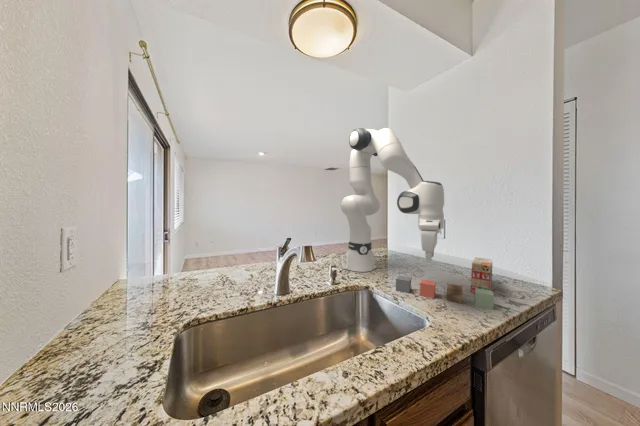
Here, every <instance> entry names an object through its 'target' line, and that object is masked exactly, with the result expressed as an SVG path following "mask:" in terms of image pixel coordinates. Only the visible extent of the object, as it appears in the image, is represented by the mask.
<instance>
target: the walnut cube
mask: <svg viewBox="0 0 640 426" xmlns="http://www.w3.org/2000/svg"><path fill="white" fill-rule="evenodd" d="M463 289H464V288H463V285H459V284H451V283H446V298H445V301H446V302H451V303H456V304H461V305H463V295H464V294H463V293H464V291H463Z"/></svg>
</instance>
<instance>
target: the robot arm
mask: <svg viewBox="0 0 640 426" xmlns="http://www.w3.org/2000/svg"><path fill="white" fill-rule="evenodd" d="M348 142H349V143H348V144H349V147H350V148H351V149H352V150H351V151H350V156H349V165H348V168H349V169H348V170H349V185H350V186H351V187H352V189H353V190H354V192H355V194H351V195H346V196H345V197H343V198H342V200H341V203H340V209H341V211H342V213H343V214H344V215H345V216H346V219H347V221H348V225H349V241H348V249H347V250H346V251H345V253H344V254H342V259H341V262H340V265H341V269H343V270H347V271H348V270H349V271H352V272H356V273H357V272H360V273H362V272H363V273H367V272H371V271H372V272H373V270H374V269H377V268H378V267H377V265H375V254H374V251H372V247H373V244H372V227H371V225H370V224H369V222H368V221H367V216H372V215H374V214H376V213H378V212H379V211H380V207H381V203H380V200H379V199H378V198H377V197H376V194H375V191H374V188H373V184H372V174H371V172H372V170H371V158H372V156H374V157H378V160H379V162H380V164H381V165H382V167H383V168H384V169H386V170H387V171H390V172H392V173H395V174H396V175H398V176H401V177H402V178H403V179H404V180H405V181H406V183H407V184H408V187H409V188H410V189H408V190H404V191H402V192H401V193H399V195H398V196H397V199H396V200H397V201H396V205H397V208H398V210H399V211H400V212H401V213H403V214H406V215H417V216H418V217H417V220H418V222H417V225H418V227H417V228H418V230H420V243H421V250H422V251H423V252H425V253H424V254H425V262H426V263H432V260H433V258H434V255H435V248H436V246H437V244H438V234H440V232H441V229H442V230H443V229H444V227H445V225H444V223H445V215H444V206H445V189H444V186H443V184H442V183H441V182H439V181H432V180H431V181H430V180H424V179H423V177H422V175H421V174H420V172H419V170H418V169H417V166H415V164H414V163H413V162H412V160H411V158H410V157H409V156H408V154H407V153H406V151H405V148H404V147H403V145H402V142H401V141H400V139H399V137H398V136H397V135H396V133H395V132H394V131H393V130H392V129H391V128H388V127H383V128H381V129H379V130H376V129H373V128H365V127H357V128H355V129H353V130H352V131H351V133H350V135H349V137H348Z"/></svg>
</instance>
